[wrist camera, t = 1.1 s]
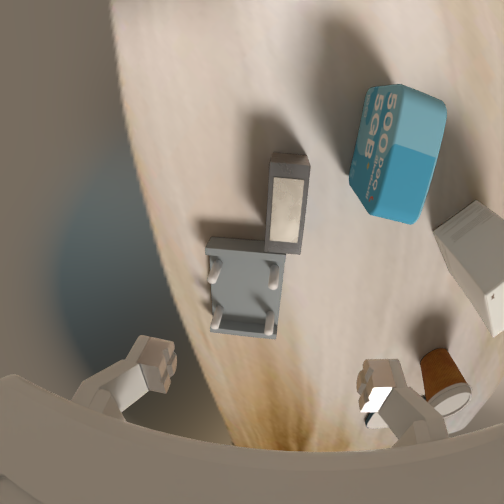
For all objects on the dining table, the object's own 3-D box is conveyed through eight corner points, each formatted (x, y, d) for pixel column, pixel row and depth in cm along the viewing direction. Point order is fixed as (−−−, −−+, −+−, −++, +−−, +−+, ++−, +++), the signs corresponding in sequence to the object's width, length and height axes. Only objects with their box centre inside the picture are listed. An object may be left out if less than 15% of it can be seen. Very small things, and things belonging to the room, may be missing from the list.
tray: (211, 236, 39) (200, 255, 35) (286, 242, 38) (285, 263, 34) (214, 318, 46) (207, 341, 42) (277, 325, 46) (275, 349, 41)
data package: (366, 87, 28) (404, 82, 17) (401, 98, 27) (450, 101, 17) (346, 182, 34) (371, 220, 23) (380, 190, 33) (415, 231, 23)
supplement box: (448, 274, 38) (491, 341, 25) (431, 230, 35) (483, 295, 22) (490, 243, 34) (542, 300, 21) (477, 197, 31) (541, 248, 18)
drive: (272, 152, 33) (269, 162, 28) (306, 155, 33) (310, 166, 27) (268, 228, 38) (264, 252, 33) (299, 231, 38) (300, 255, 32)
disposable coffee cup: (405, 362, 48) (419, 413, 37) (445, 334, 43) (467, 384, 33) (423, 379, 50) (436, 424, 39) (460, 354, 46) (478, 399, 35)
